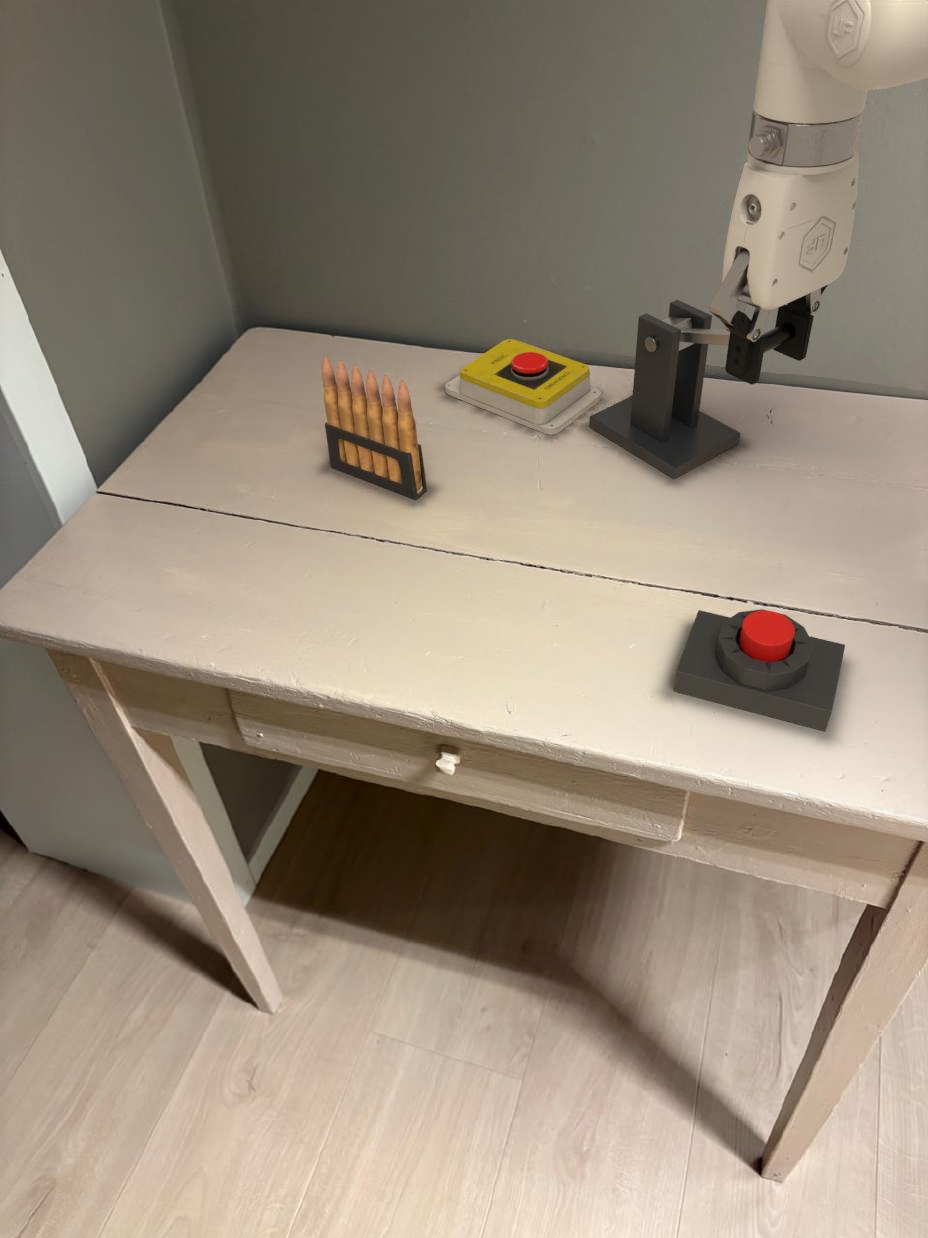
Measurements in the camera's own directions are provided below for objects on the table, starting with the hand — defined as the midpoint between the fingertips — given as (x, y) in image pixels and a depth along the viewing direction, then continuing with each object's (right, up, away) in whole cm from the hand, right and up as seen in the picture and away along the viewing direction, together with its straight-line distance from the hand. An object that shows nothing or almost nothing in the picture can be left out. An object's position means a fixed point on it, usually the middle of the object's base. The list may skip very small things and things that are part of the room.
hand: (765, 363), depth 81 cm
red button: (-4, -24, -11) cm, 26 cm away
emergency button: (-19, +2, +22) cm, 29 cm away
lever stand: (-6, -3, +15) cm, 16 cm away
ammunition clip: (-34, -8, +12) cm, 37 cm away
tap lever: (-3, +2, +4) cm, 5 cm away
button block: (-3, -26, -9) cm, 28 cm away
